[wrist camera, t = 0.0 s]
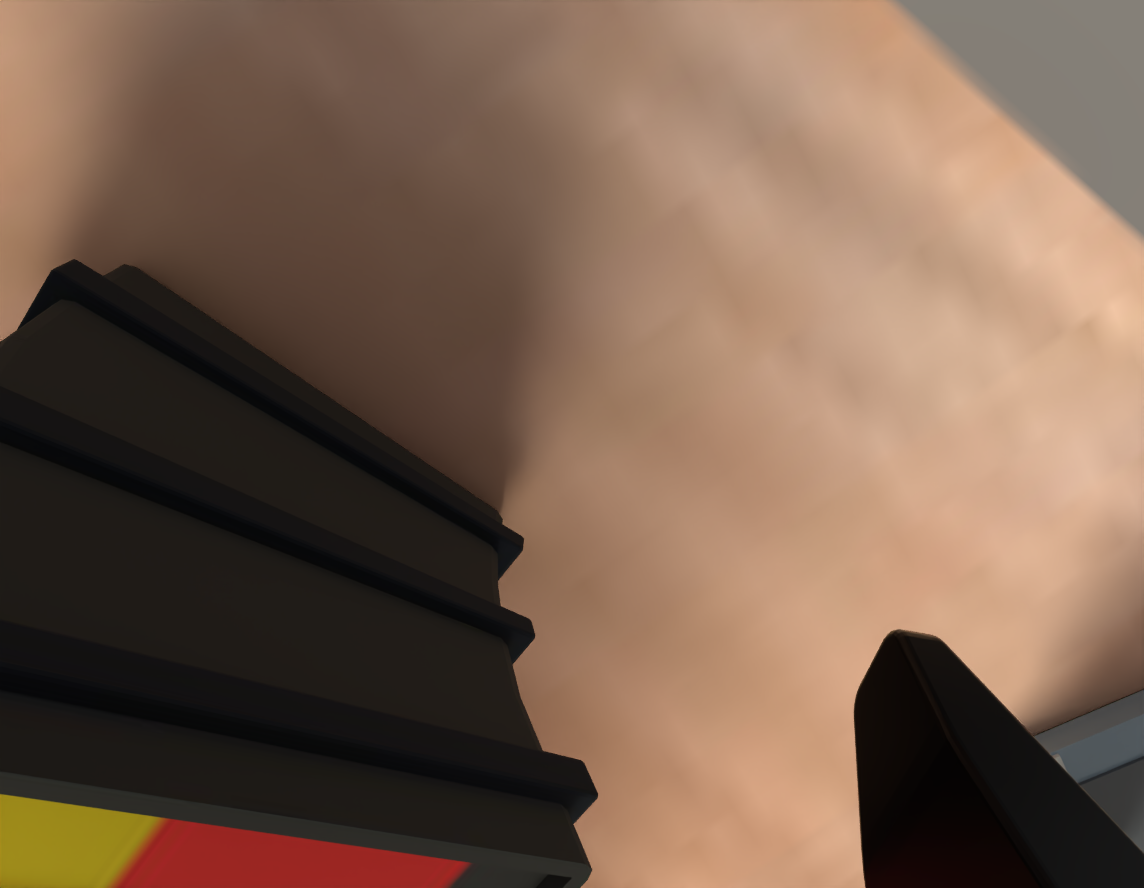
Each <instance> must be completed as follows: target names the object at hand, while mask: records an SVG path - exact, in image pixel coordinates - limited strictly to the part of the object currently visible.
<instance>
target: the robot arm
mask: <svg viewBox="0 0 1144 888" xmlns="http://www.w3.org/2000/svg"><path fill="white" fill-rule="evenodd" d="M854 728H855V746H856V763H857V781H858V798H859V816H860V833H861V850H862V862H863V873H864V880H865V887H866V888H1144V853H1143V851H1142V850H1141V849H1140V848H1139V847H1138V846H1137V845H1136V844H1135V843H1134V842H1133V841H1132V840H1131V839H1130V838H1129V837H1128V836H1127V835H1126V834H1125V832H1124V831H1123V830H1122V829H1121V828H1120V827H1119V826H1118V825H1117V824H1116V823H1115V822H1114V821H1113V820H1112V819H1111V818H1110V817H1109V816H1108V815H1107V813H1106V812H1105V811H1104V810H1103V809H1102V808H1101V807H1100V806H1099V805H1098V804H1097V803H1096V802H1095V801H1094V800H1093V799H1092V798H1091V797H1090V796H1089V794H1088V793H1087V792H1086V791H1085V790H1084V789H1083V788H1082V787H1081V786H1080V785H1079V784H1078V783H1077V782H1076V781H1075V780H1074V779H1073V778H1072V777H1071V775H1070V774H1069V773H1068V772H1067V771H1066V770H1065V769H1064V768H1063V767H1062V766H1061V765H1060V764H1059V763H1058V762H1057V761H1056V760H1055V759H1054V758H1053V756H1052V755H1051V754H1050V753H1049V752H1048V751H1047V750H1046V749H1045V748H1044V747H1043V746H1042V745H1041V744H1040V743H1039V742H1038V741H1037V740H1036V739H1035V737H1034V736H1033V735H1032V734H1031V733H1030V732H1029V731H1028V730H1027V729H1026V728H1025V727H1024V726H1023V725H1022V724H1021V723H1020V722H1019V721H1018V720H1017V719H1016V717H1015V716H1014V715H1013V714H1012V713H1011V712H1010V711H1009V710H1008V709H1007V708H1006V707H1005V706H1004V705H1003V704H1002V703H1001V702H1000V701H999V700H998V698H997V697H996V696H995V695H994V694H993V693H992V692H991V691H990V690H989V689H988V688H987V687H986V686H985V685H984V684H983V683H982V682H981V681H980V679H979V678H978V677H977V676H976V675H975V674H974V673H973V672H972V671H971V670H970V669H969V668H968V667H967V666H966V665H965V664H964V663H963V662H962V660H961V659H960V658H959V657H958V656H957V655H956V654H955V653H954V652H953V651H952V650H951V649H950V648H949V647H948V646H947V645H946V644H945V643H944V642H943V641H942V640H941V639H940V638H938V637H936V636H933V635H930V634H924V633H918V632H913V631H907V630H901V629H898V630H893V631H891V632H890V633H889V634H888V635H887V636H886V637H885V639H884V640H883V642H882V644H881V646H880V648H879V650H878V652H877V653H876V655H875V657H874V659H873V661H872V663H871V665H870V667H869V669H868V671H867V673H866V675H865V677H864V678H863V680H862V682H861V684H860V686H859V689H858V691H857V694H856V698H855V704H854Z"/></svg>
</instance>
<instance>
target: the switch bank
mask: <svg viewBox="0 0 1144 888" xmlns="http://www.w3.org/2000/svg"><path fill="white" fill-rule="evenodd" d="M1034 737H1035V739H1036V740H1037V741H1038V742H1039V743H1040V744H1041V745H1042V746H1043V747H1044V748H1045V749H1046V750H1047V751H1048V752H1049V753H1050V754H1051V755H1052V756H1053V758H1054V759H1055V760H1056V761H1057V762H1058V763H1059V764H1060V765H1061V766H1062V767H1063V768H1064V769H1065V770H1066V771H1067V772H1068V773H1069V774H1070V775H1071V777H1072V778H1073V779H1074V780H1075V781H1076V782H1077V783H1078V784H1079V785H1080V786H1081V787H1082V788H1083V789H1084V790H1085V791H1086V792H1087V793H1088V794H1089V796H1090V797H1091V798H1092V799H1093V800H1094V801H1095V802H1096V803H1097V804H1098V805H1099V806H1100V807H1101V808H1102V809H1103V810H1104V811H1105V812H1106V813H1107V815H1108V816H1109V817H1110V818H1111V819H1112V820H1113V821H1114V822H1115V823H1116V824H1117V825H1118V826H1119V827H1120V828H1121V829H1122V830H1123V831H1124V832H1125V834H1126V835H1127V836H1128V837H1129V838H1130V839H1131V840H1132V841H1133V842H1134V843H1135V844H1136V845H1137V846H1138V847H1139V848H1140V849H1141V850H1142V851H1143V853H1144V690H1142V691H1140V692H1137V693H1135V694H1132V695H1130V696H1128V697H1125V698H1123V699H1121V700H1118V701H1116V702H1114V703H1111V704H1109V705H1107V706H1104V707H1102V708H1099V709H1097V710H1095V711H1092V712H1090V713H1088V714H1085V715H1083V716H1081V717H1078V718H1076V719H1074V720H1071V721H1069V722H1066V723H1064V724H1062V725H1059V726H1057V727H1055V728H1052V729H1050V730H1048V731H1045V732H1043V733H1041V734H1038V735H1036V736H1034Z"/></svg>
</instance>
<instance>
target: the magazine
mask: <svg viewBox="0 0 1144 888" xmlns="http://www.w3.org/2000/svg"><path fill="white" fill-rule="evenodd" d="M502 520H503V519H502V518H501V516H500V515H499V513H498V512H497V511H496V510H495V509H493V508H492V507H491V506H489V505H488V504H486V503H485V502H483V501H482V500H480V499H479V498H477V497H476V496H474V495H473V494H471V493H470V492H468V491H467V490H465V489H464V488H462V487H461V486H459V485H458V484H456V483H455V482H453V481H452V480H451V479H449V478H448V477H446V476H445V475H443V474H442V473H440V472H439V471H437V470H436V469H434V468H433V467H431V466H430V465H428V464H427V463H425V462H424V461H422V460H421V459H419V458H418V457H416V456H415V455H413V454H412V453H410V452H409V451H408V450H406V449H405V448H403V447H402V446H400V445H399V444H397V443H396V442H394V441H393V440H391V439H390V438H388V437H387V436H385V435H384V434H382V433H381V432H379V431H378V430H376V429H375V428H373V427H372V426H370V425H369V424H368V423H366V422H365V421H363V420H362V419H360V418H359V417H357V416H356V415H354V414H353V413H351V412H350V411H348V410H347V409H345V408H344V407H342V406H341V405H339V404H338V403H336V402H335V401H333V400H332V399H330V398H329V397H328V396H326V395H325V394H323V393H322V392H320V391H319V390H317V389H316V388H314V387H313V386H311V385H310V384H308V383H307V382H305V381H304V380H302V379H301V378H299V377H298V376H296V375H295V374H293V373H292V372H290V371H289V370H288V369H286V368H285V367H283V366H282V365H280V364H279V363H277V362H276V361H274V360H273V359H271V358H270V357H268V356H267V355H265V354H264V353H262V352H261V351H259V350H258V349H256V348H255V347H253V346H252V345H250V344H249V343H248V342H246V341H245V340H243V339H242V338H240V337H239V336H237V335H236V334H234V333H233V332H231V331H230V330H228V329H227V328H225V327H224V326H222V325H221V324H219V323H218V322H216V321H215V320H213V319H212V318H210V317H209V316H207V315H206V314H205V313H203V312H202V311H200V310H199V309H197V308H196V307H194V306H193V305H191V304H190V303H188V302H187V301H185V300H184V299H182V298H181V297H179V296H178V295H176V294H175V293H173V292H172V291H170V290H169V289H167V288H166V287H165V286H163V285H162V284H160V283H159V282H157V281H156V280H154V279H153V278H151V277H150V276H148V275H147V274H145V273H144V272H142V271H141V270H139V269H138V268H136V267H133V266H129V265H125V264H124V265H122V266H120V267H119V268H117V269H115V270H113V271H112V272H110V273H108V274H106V275H104V276H102V275H100V274H99V273H97V272H95V271H94V270H92V269H91V268H89V267H87V266H86V265H84V264H83V263H81V262H79V261H78V260H75V259H73V260H71V261H69V262H67V263H65V264H63V265H61V266H59V267H57V268H55V269H53V270H51V272H50V274H49V275H48V277H47V279H46V280H45V282H44V284H43V286H42V287H41V289H40V291H39V293H38V294H37V296H36V298H35V300H34V301H33V303H32V305H31V306H30V308H29V310H28V312H27V313H26V315H25V317H24V319H23V320H22V322H21V324H20V325H19V327H18V329H17V331H15V332H14V333H12V334H11V335H10V336H8V337H7V338H5V339H4V340H2V341H1V342H0V888H580V887H581V886H582V885H583V884H584V883H585V882H586V881H587V880H588V878H589V876H590V873H591V871H592V868H591V866H590V863H589V861H588V858H587V856H586V854H585V851H584V849H583V846H582V844H581V842H580V839H579V837H578V834H577V832H576V830H575V827H574V825H573V824H574V823H575V822H576V821H577V820H578V819H579V817H580V816H581V815H582V814H583V813H584V812H585V811H586V810H587V809H588V808H589V807H590V806H591V805H592V803H593V802H594V801H595V800H596V799H597V798H598V793H597V790H596V788H595V786H594V784H593V782H592V779H591V777H590V775H589V773H588V770H587V768H586V766H585V764H584V763H583V762H582V761H581V760H578V759H574V758H569V757H565V756H561V755H557V754H553V753H549V752H545V751H543V750H542V748H541V745H540V743H539V741H538V738H537V736H536V733H535V731H534V729H533V726H532V724H531V721H530V719H529V717H528V714H527V712H526V709H525V707H524V705H523V702H522V700H521V697H520V694H519V690H518V686H517V682H516V678H515V674H514V670H513V666H512V664H513V663H514V662H515V661H516V660H517V659H518V657H519V656H520V655H521V654H522V653H523V651H524V650H525V649H526V648H527V647H528V646H529V644H530V643H531V642H532V641H533V640H534V638H535V633H534V629H533V625H532V622H531V620H530V619H528V618H526V617H524V616H522V615H519V614H517V613H515V612H512V611H510V610H508V609H506V608H503V607H501V606H500V598H499V589H498V580H499V579H500V578H501V576H502V575H503V574H504V573H505V571H506V570H507V569H508V568H509V567H510V565H511V564H512V563H513V562H514V560H515V559H516V558H517V557H518V556H519V554H520V553H521V552H522V550H523V543H524V538H523V537H522V536H520V535H519V534H517V533H516V532H514V531H512V530H511V529H509V528H507V527H506V526H504V525H503V524H502Z"/></svg>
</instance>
